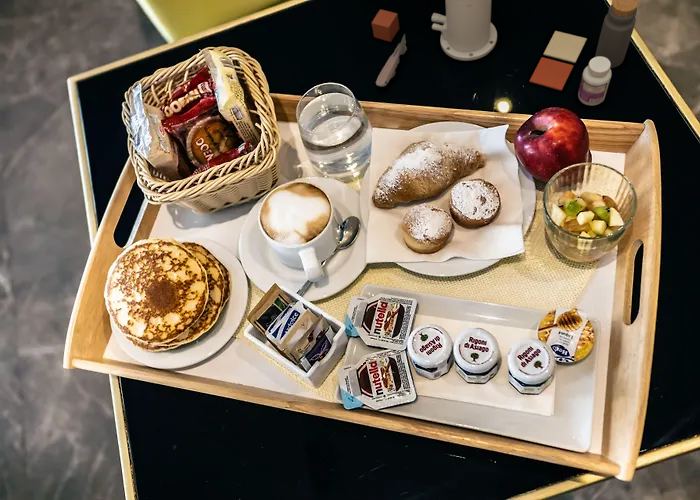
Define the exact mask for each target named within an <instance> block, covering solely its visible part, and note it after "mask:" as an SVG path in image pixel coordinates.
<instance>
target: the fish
mask: <svg viewBox="0 0 700 500" xmlns="http://www.w3.org/2000/svg"><path fill="white" fill-rule="evenodd" d="M406 43H407V41H406V33H404V34H403V36H402V38H401V41H400V42H399V43H398V44H397V46H396V48H395V49H394V52H393V53H392V54H391V55H390V56H389V57H388V59H387V61H386V63H385V65H384V66H383V67H382V69H381V71H380V72H379V74H378V76H377V79H376V81H375V84H376V86H378V87H380V88H381V87H385V86H387V85H388V84H389V82H390V80H391V79H393V78H394V77H395V75H396V69H397V68H398V64H400V56H402V55H404V54H405V53H406V51H407V50H408V47H407V46H406Z"/></svg>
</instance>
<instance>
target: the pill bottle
mask: <svg viewBox="0 0 700 500" xmlns="http://www.w3.org/2000/svg"><path fill="white" fill-rule="evenodd" d="M610 66H611V63H610V61H609V60H608V59H607V58H605V57H602V56H598V57H595V56H594V57H593V58H591V59H590V60H589V61H588V65H587V66H585V68H584V69H583V72H582V76H581V80H580V83H579V88H578V92H577V97H578V99H579V101H580V102H581V103H582V104H584V105H586V106H597V105H599V104H601V103H603V102H604V101H605V98H606V96H607V93H608V90H609V85H610V82H611V79H612V68H610Z"/></svg>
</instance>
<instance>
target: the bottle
mask: <svg viewBox="0 0 700 500" xmlns="http://www.w3.org/2000/svg"><path fill="white" fill-rule="evenodd" d="M638 6H639V0H611V4H610V5H609V8H608V10H607V11H608V12H607V14H606V15H605V17H604V19H603V22H602V27H601V31H600V34H599V39H598V42H597V47H596V51H595V55H594V57H598V56H602V57H605V58H607V59H608V60H609V61H610V63H611V66H610V69H613V68H616V67H619V66H620V65H621V64H623V62H624V60H625V57H626V54H627V51H628V48H629V46H630V45H629V44H630V43H631V39H632V36H633V33H634V29H635V26H636V21H637V18H636V16H637V13H638Z"/></svg>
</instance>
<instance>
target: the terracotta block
mask: <svg viewBox="0 0 700 500" xmlns="http://www.w3.org/2000/svg"><path fill="white" fill-rule="evenodd" d="M371 28H372V34H373V37H374V38H376V39H379V40H382V41H386V42H390V43H391V42H392V41H393V39H394V38H395V36H396V35H397V33H398V32H399V30H400V23H399V15H398V13H397V12H393V11H389V10H384V9H379V11H378V12H377V13H376V15H375V17H374V18H373V20H372V21H371Z"/></svg>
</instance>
